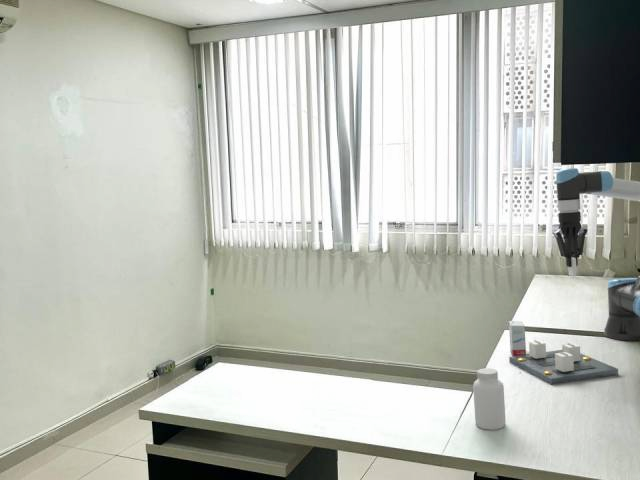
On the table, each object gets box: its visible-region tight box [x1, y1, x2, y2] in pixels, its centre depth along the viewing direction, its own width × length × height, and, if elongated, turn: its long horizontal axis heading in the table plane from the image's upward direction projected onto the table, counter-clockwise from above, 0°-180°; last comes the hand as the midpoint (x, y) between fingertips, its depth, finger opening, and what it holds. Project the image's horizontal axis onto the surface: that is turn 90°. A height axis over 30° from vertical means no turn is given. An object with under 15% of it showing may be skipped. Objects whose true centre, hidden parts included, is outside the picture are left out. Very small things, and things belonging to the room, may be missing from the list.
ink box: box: [508, 320, 527, 357], centre depth 224 cm, size 9×5×12 cm, turn 168°
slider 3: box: [555, 352, 574, 372], centre depth 196 cm, size 4×4×5 cm
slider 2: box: [561, 342, 581, 362], centre depth 206 cm, size 4×4×5 cm
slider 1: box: [528, 339, 547, 359], centre depth 212 cm, size 4×4×5 cm
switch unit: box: [508, 349, 619, 386], centre depth 205 cm, size 24×26×2 cm
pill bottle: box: [472, 367, 506, 431], centre depth 163 cm, size 8×8×15 cm
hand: (572, 275), depth 221 cm, fingers closed
